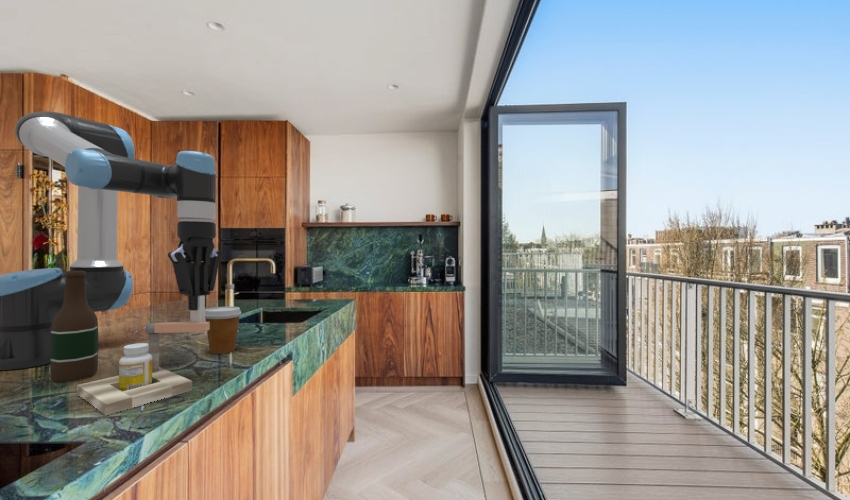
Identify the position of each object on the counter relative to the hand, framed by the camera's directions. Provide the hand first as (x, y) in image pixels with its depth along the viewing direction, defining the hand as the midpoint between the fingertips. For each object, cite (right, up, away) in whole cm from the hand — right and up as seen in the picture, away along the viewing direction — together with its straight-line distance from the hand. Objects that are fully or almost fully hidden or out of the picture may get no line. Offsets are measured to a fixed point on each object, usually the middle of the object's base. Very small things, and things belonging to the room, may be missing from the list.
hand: (197, 323), depth 85 cm
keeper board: (-6, -12, -10) cm, 17 cm away
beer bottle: (-27, -12, -1) cm, 29 cm away
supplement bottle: (-6, -12, -10) cm, 17 cm away
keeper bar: (-3, -1, -3) cm, 4 cm away
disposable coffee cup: (-5, -12, +20) cm, 24 cm away
